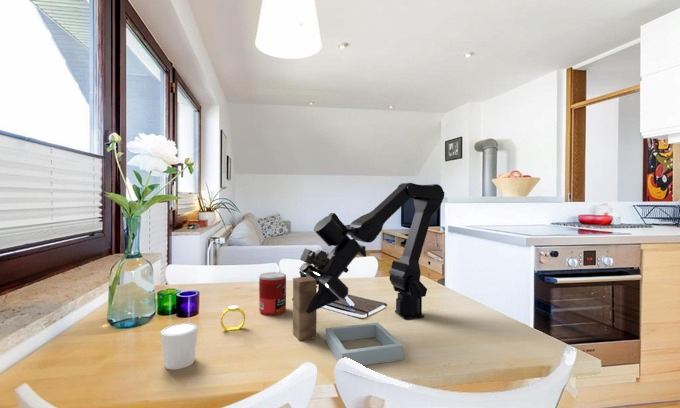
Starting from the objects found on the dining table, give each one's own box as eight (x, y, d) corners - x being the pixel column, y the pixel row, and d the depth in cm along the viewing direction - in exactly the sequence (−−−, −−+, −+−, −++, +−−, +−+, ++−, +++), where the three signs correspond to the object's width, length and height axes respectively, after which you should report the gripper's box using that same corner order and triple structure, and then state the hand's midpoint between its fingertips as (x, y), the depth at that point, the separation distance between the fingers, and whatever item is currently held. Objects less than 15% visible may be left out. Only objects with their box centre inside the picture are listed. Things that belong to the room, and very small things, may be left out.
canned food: (280, 316, 94) (280, 278, 94) (254, 314, 95) (254, 277, 95) (289, 308, 101) (289, 272, 101) (265, 306, 103) (265, 271, 103)
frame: (378, 334, 82) (378, 322, 82) (403, 359, 69) (403, 345, 69) (325, 340, 78) (325, 328, 78) (342, 368, 65) (342, 353, 65)
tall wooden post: (309, 330, 84) (309, 276, 84) (316, 337, 80) (316, 280, 80) (293, 334, 82) (293, 278, 82) (299, 340, 78) (299, 282, 78)
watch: (244, 327, 87) (246, 304, 87) (244, 331, 84) (246, 308, 84) (220, 328, 85) (222, 305, 85) (219, 332, 82) (221, 308, 82)
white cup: (169, 355, 71) (169, 322, 70) (202, 354, 71) (202, 321, 71) (154, 371, 64) (154, 336, 64) (190, 370, 64) (190, 335, 64)
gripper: (306, 233, 91) (266, 277, 86) (337, 241, 74) (290, 296, 69) (331, 259, 94) (295, 303, 89) (366, 272, 78) (323, 327, 73)
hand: (299, 306), depth 80 cm, fingers open, 9 cm apart
